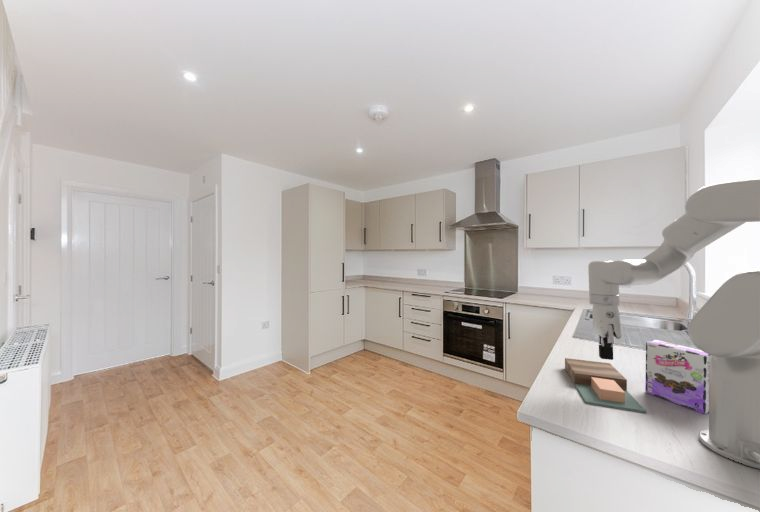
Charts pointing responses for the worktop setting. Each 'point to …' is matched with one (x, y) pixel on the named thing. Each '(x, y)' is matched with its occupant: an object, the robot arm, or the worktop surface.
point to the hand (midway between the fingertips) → (606, 358)
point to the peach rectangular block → (607, 389)
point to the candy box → (678, 374)
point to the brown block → (593, 372)
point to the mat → (593, 398)
